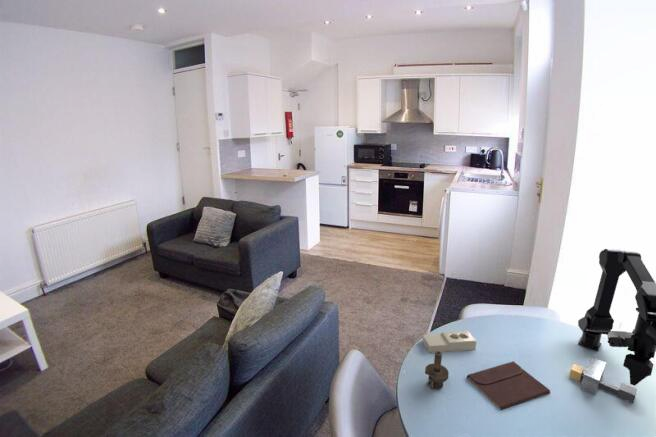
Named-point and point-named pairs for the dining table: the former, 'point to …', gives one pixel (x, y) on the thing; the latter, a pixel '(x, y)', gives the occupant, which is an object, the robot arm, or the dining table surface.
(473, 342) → the electrical outlet
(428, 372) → the industrial component
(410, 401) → the dining table surface
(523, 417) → the dining table surface
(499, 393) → the brown leather pouch
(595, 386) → the plate
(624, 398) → the plug
